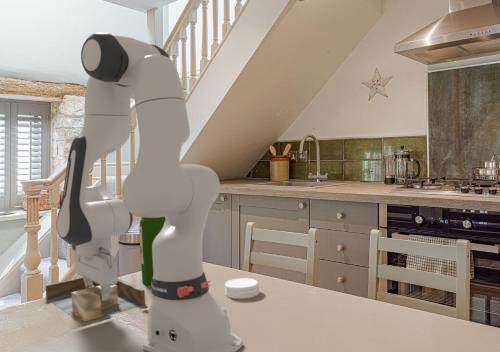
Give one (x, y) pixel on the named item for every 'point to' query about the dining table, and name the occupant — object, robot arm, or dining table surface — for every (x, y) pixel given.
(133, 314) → the dining table surface
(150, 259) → the wine bottle
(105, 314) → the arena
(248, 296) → the coaster
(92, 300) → the oak L block
